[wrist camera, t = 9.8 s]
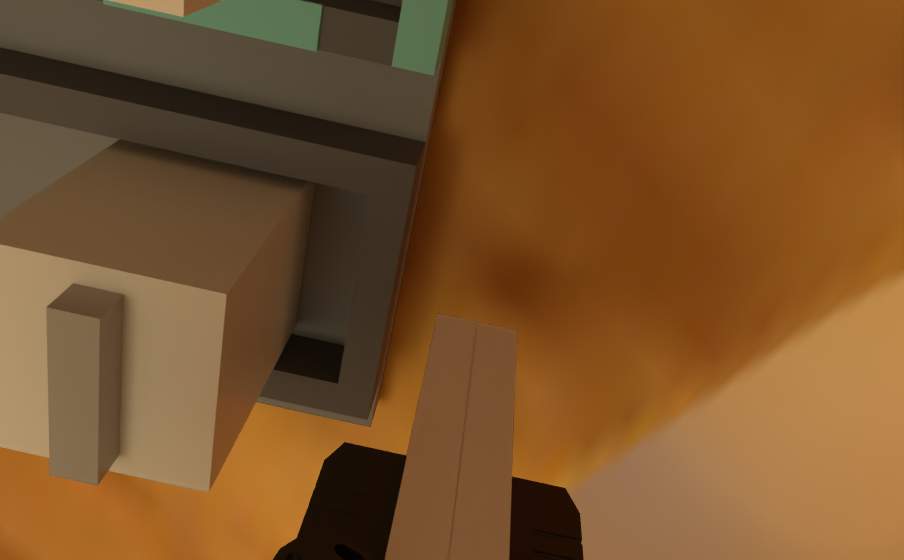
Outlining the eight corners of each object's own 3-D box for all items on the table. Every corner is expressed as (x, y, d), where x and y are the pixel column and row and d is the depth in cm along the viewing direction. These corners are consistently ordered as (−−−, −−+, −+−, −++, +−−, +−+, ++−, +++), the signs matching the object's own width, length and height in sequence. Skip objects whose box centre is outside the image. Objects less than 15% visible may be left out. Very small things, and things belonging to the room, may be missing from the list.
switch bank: (-394, -600, 15) (-595, -701, 12) (532, -387, 15) (532, -442, 12) (-231, 266, 22) (-332, 319, 20) (378, 400, 22) (357, 470, 20)
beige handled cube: (136, 128, 18) (-64, 259, 12) (317, 168, 18) (208, 319, 12) (131, 288, 20) (-45, 472, 14) (296, 325, 20) (192, 524, 14)
